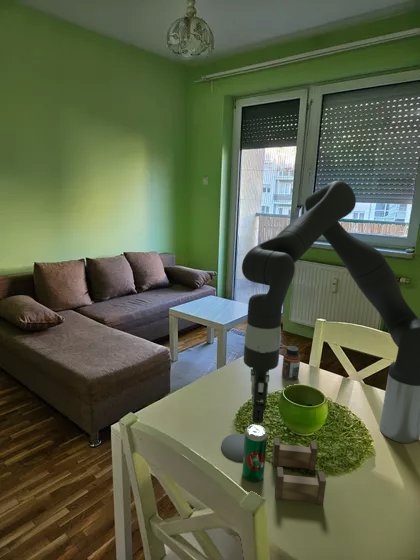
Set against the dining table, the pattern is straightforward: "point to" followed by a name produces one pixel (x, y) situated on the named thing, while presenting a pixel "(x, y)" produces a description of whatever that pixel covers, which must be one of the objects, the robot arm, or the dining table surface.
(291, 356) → the supplement bottle
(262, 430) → the soda can
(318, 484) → the channel
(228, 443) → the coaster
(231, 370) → the dining table surface
